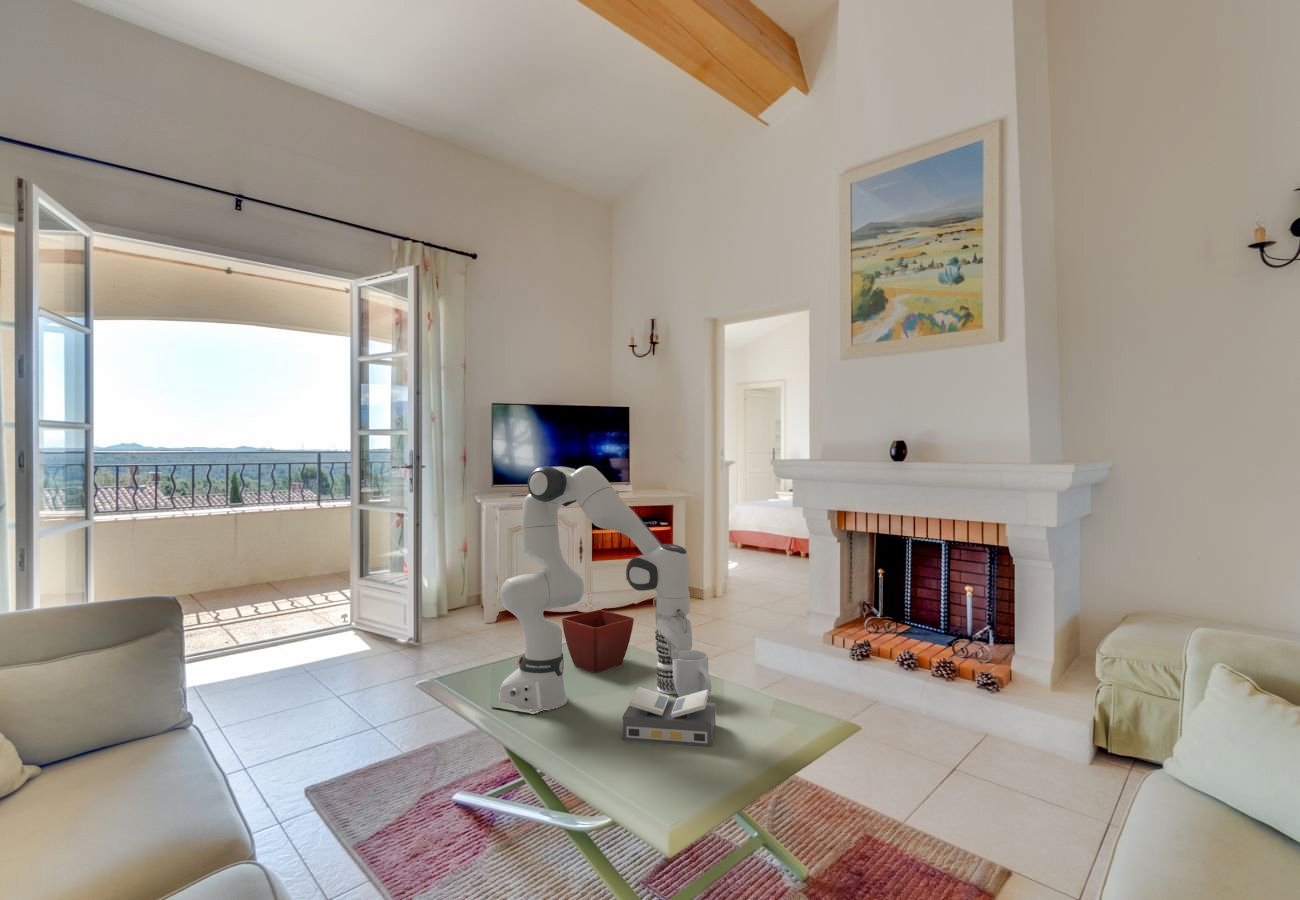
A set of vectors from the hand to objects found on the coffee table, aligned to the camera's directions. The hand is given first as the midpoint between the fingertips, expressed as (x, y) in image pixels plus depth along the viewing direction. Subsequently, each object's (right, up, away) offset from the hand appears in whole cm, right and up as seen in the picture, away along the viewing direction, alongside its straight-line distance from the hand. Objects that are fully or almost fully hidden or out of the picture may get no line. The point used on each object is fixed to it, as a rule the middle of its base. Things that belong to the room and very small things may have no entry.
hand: (673, 657), depth 161 cm
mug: (+7, -21, +22) cm, 31 cm away
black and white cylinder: (0, -21, +30) cm, 37 cm away
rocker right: (+4, -12, -1) cm, 13 cm away
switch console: (-1, -20, -1) cm, 20 cm away
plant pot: (-25, -22, +55) cm, 64 cm away
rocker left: (-6, -12, +1) cm, 13 cm away
